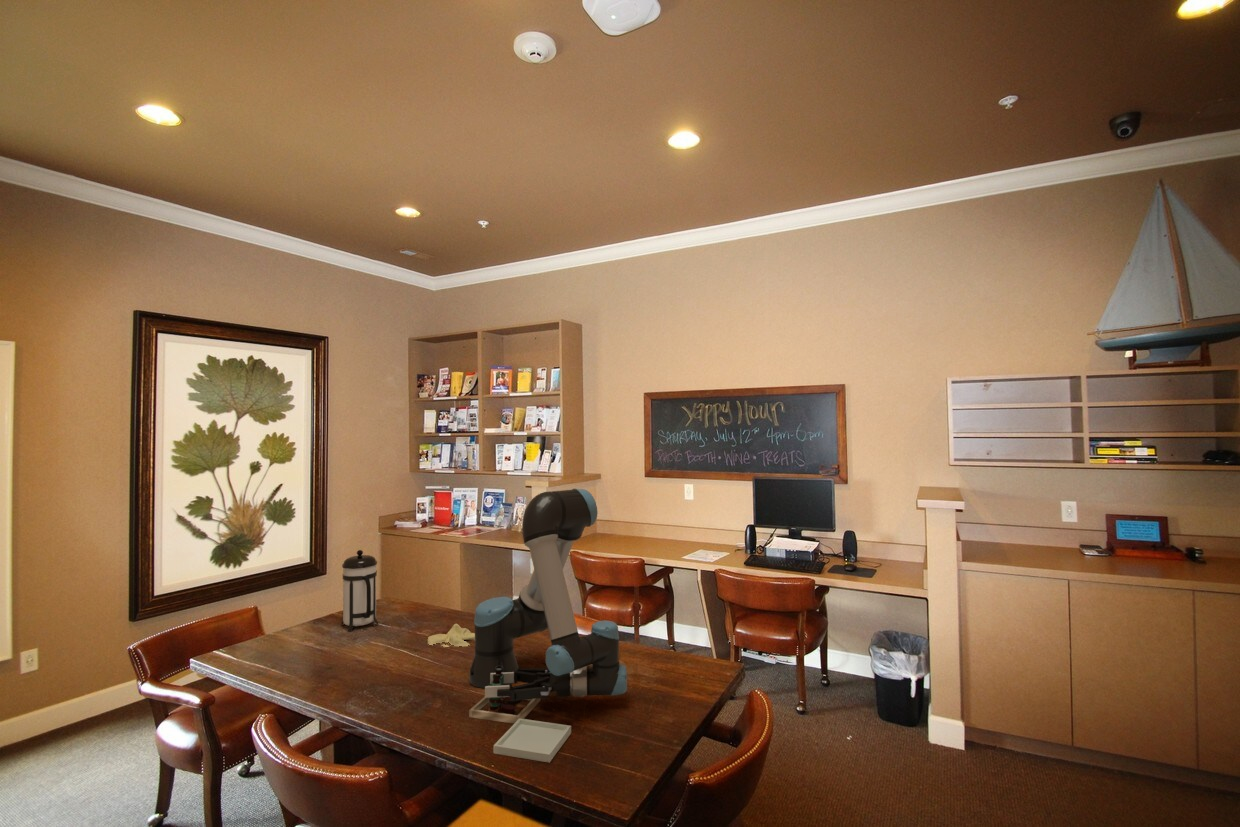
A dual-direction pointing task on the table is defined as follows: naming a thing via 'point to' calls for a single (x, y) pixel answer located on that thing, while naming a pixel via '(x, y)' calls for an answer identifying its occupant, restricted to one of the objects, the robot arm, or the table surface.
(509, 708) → the binoculars
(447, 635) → the cloth
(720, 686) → the table surface
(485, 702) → the holder
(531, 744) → the tray
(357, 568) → the coffee press
